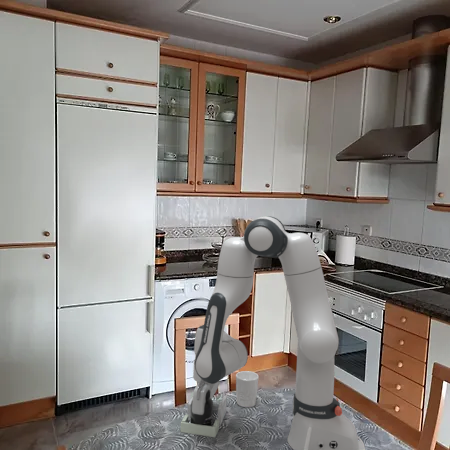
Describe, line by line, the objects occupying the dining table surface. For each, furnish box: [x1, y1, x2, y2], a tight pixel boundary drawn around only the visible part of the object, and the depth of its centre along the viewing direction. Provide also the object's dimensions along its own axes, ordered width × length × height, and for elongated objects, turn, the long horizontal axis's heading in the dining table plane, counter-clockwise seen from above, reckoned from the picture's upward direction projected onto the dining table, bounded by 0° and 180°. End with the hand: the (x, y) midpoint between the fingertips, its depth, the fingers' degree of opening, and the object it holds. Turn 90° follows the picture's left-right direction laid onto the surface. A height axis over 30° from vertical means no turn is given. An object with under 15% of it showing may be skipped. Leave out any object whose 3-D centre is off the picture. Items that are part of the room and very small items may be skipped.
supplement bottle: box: [190, 390, 214, 427], centre depth 135 cm, size 7×7×12 cm
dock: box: [180, 414, 220, 438], centre depth 134 cm, size 11×5×3 cm, turn 78°
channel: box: [186, 395, 227, 426], centre depth 143 cm, size 11×8×6 cm
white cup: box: [235, 370, 260, 408], centre depth 153 cm, size 8×8×10 cm
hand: (205, 413), depth 141 cm, fingers closed
